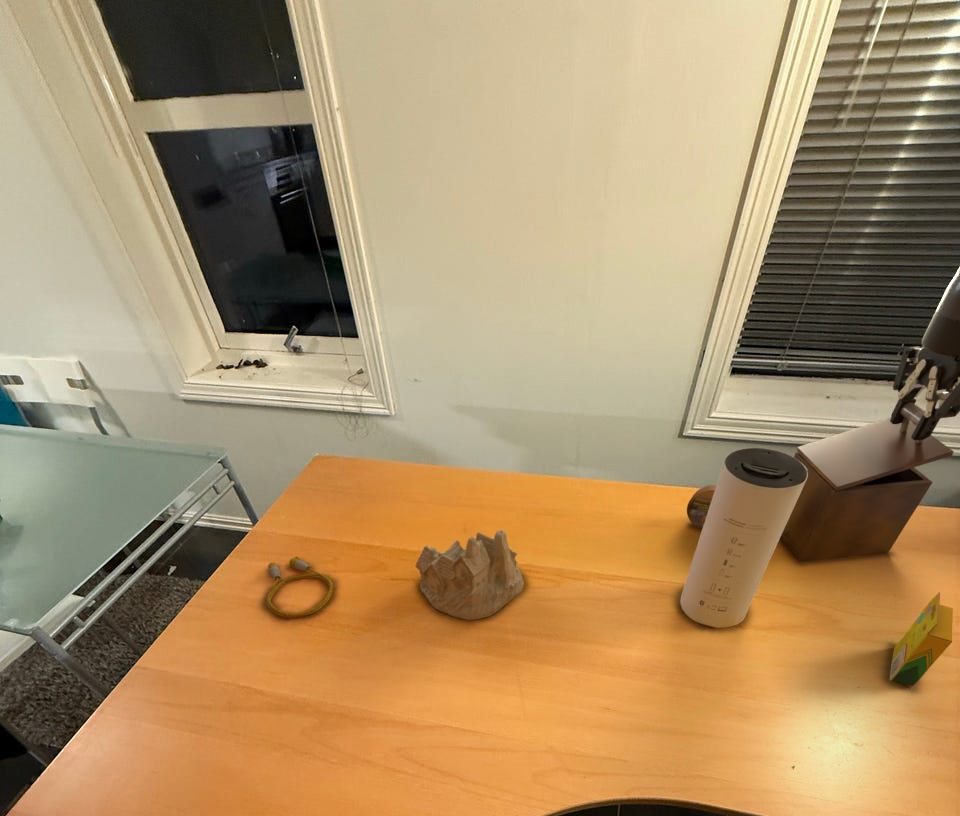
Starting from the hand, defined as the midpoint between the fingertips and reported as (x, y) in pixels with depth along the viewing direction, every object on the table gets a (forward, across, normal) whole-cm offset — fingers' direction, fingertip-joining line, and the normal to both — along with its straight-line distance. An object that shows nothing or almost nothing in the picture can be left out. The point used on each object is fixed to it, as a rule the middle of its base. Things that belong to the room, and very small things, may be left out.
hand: (907, 430), depth 86 cm
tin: (+20, +5, +22) cm, 30 cm away
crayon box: (+20, -31, +10) cm, 38 cm away
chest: (+20, 0, +5) cm, 21 cm away
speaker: (+20, -15, +32) cm, 41 cm away
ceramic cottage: (+19, -4, +71) cm, 74 cm away
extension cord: (+18, 0, +102) cm, 104 cm away
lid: (+3, 0, +5) cm, 6 cm away
